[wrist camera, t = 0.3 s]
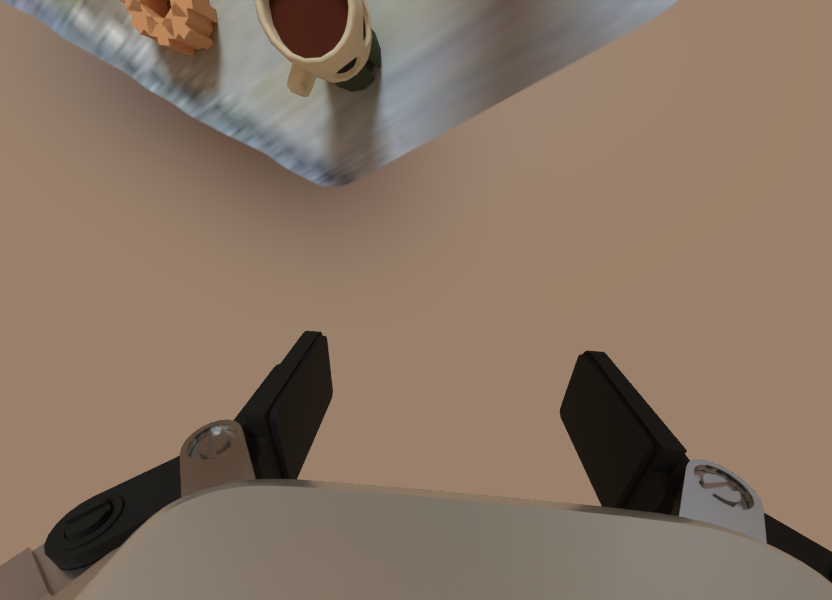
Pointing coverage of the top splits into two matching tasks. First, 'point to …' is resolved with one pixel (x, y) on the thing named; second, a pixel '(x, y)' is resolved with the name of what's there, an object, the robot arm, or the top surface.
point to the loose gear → (174, 23)
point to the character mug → (322, 41)
